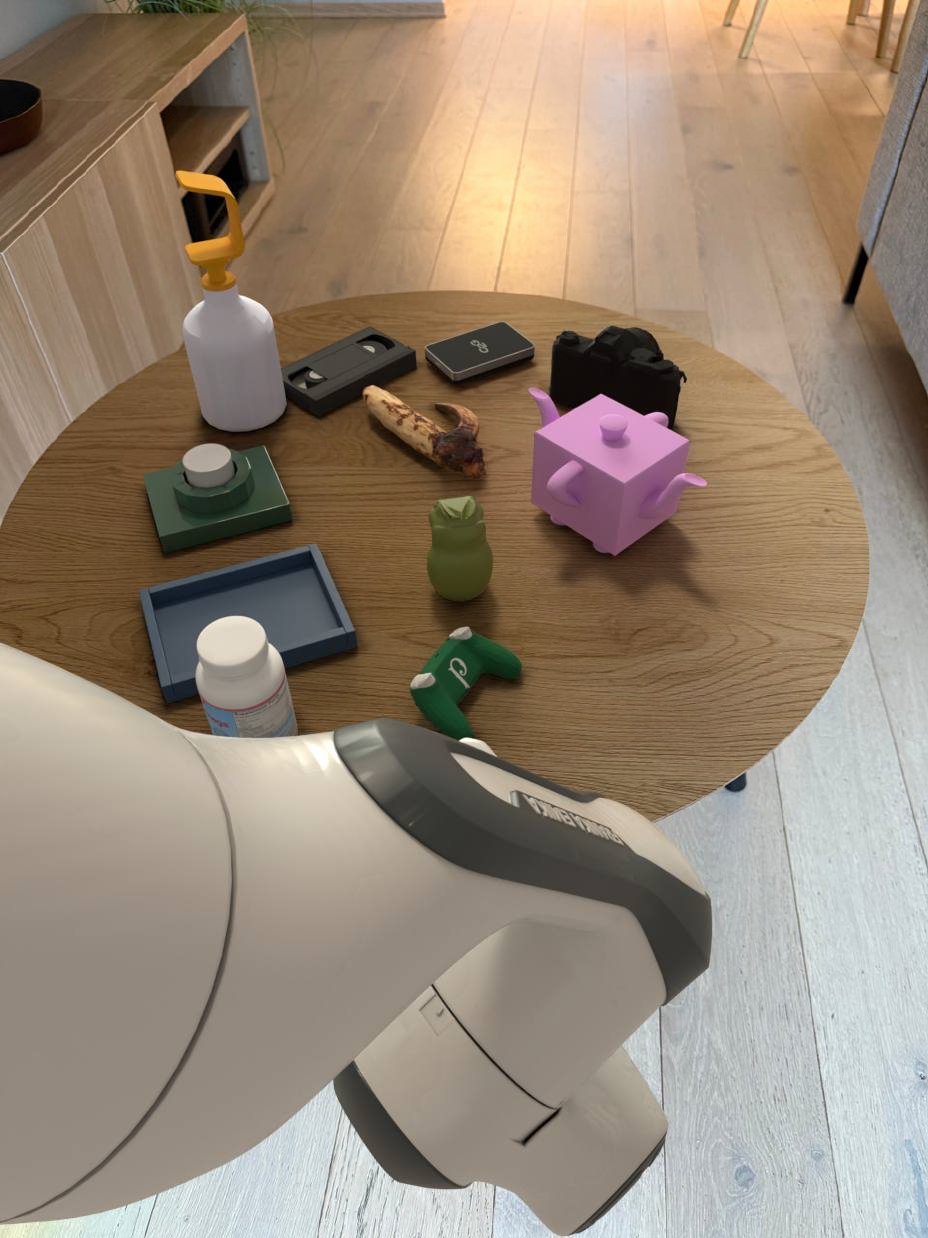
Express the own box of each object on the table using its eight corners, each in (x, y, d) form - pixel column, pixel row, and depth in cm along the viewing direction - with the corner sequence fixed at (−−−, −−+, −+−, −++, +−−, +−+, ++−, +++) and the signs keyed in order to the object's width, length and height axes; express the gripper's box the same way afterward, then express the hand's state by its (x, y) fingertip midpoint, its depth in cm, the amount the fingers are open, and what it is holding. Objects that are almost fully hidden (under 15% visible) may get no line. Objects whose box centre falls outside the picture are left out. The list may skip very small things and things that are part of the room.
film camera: (702, 399, 102) (717, 323, 96) (663, 444, 97) (676, 366, 90) (579, 359, 108) (585, 285, 102) (535, 399, 103) (539, 323, 96)
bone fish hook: (526, 462, 96) (413, 387, 105) (530, 423, 92) (413, 348, 101) (457, 499, 91) (345, 417, 100) (458, 459, 88) (342, 378, 97)
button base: (164, 553, 86) (153, 519, 83) (147, 490, 92) (136, 456, 90) (292, 520, 89) (286, 486, 86) (267, 461, 96) (260, 428, 93)
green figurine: (433, 617, 80) (429, 527, 73) (423, 575, 84) (418, 485, 76) (498, 608, 81) (499, 518, 73) (485, 566, 84) (485, 476, 77)
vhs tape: (371, 340, 112) (370, 325, 110) (416, 366, 108) (415, 350, 106) (274, 388, 105) (271, 372, 103) (318, 416, 101) (316, 400, 99)
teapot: (515, 561, 85) (520, 462, 77) (524, 470, 94) (529, 374, 86) (688, 572, 84) (710, 473, 76) (680, 479, 93) (698, 382, 85)
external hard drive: (536, 361, 108) (537, 346, 107) (453, 390, 104) (453, 374, 103) (503, 335, 112) (503, 320, 111) (422, 362, 108) (421, 346, 107)
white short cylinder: (192, 494, 86) (187, 476, 85) (183, 467, 89) (178, 449, 88) (239, 482, 87) (235, 464, 86) (229, 456, 90) (225, 438, 89)
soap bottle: (194, 398, 104) (136, 165, 86) (275, 379, 106) (234, 149, 88) (212, 442, 98) (154, 202, 80) (297, 421, 100) (258, 184, 83)
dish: (167, 703, 74) (161, 687, 72) (144, 606, 81) (138, 589, 80) (357, 647, 78) (355, 630, 76) (319, 559, 85) (316, 542, 84)
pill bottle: (208, 724, 72) (174, 623, 64) (285, 698, 74) (261, 596, 66) (229, 785, 68) (196, 686, 60) (309, 755, 70) (287, 655, 62)
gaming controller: (500, 675, 78) (455, 621, 76) (530, 666, 75) (484, 609, 73) (441, 754, 72) (391, 697, 71) (471, 747, 69) (419, 688, 68)
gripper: (572, 810, 56) (437, 668, 64) (265, 1020, 47) (152, 828, 55) (565, 864, 60) (439, 726, 68) (284, 1065, 52) (177, 882, 60)
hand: (309, 773), depth 62 cm, fingers open, 8 cm apart
